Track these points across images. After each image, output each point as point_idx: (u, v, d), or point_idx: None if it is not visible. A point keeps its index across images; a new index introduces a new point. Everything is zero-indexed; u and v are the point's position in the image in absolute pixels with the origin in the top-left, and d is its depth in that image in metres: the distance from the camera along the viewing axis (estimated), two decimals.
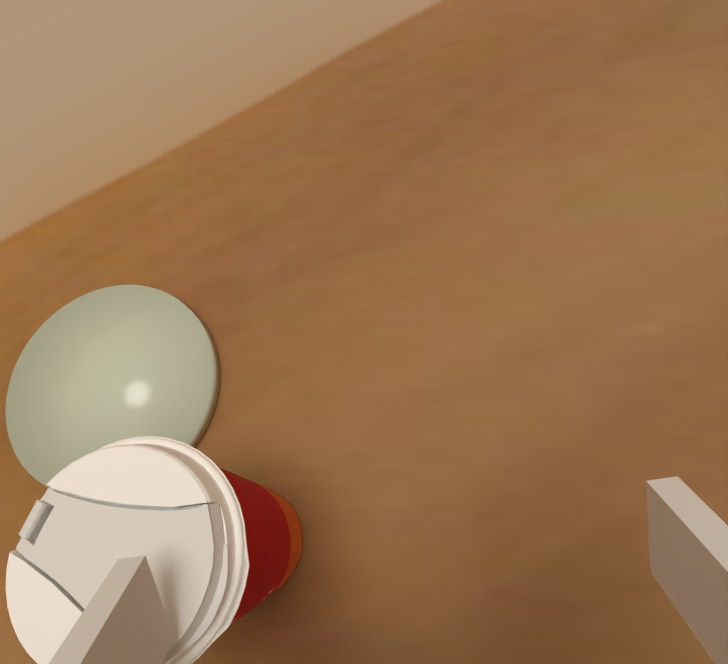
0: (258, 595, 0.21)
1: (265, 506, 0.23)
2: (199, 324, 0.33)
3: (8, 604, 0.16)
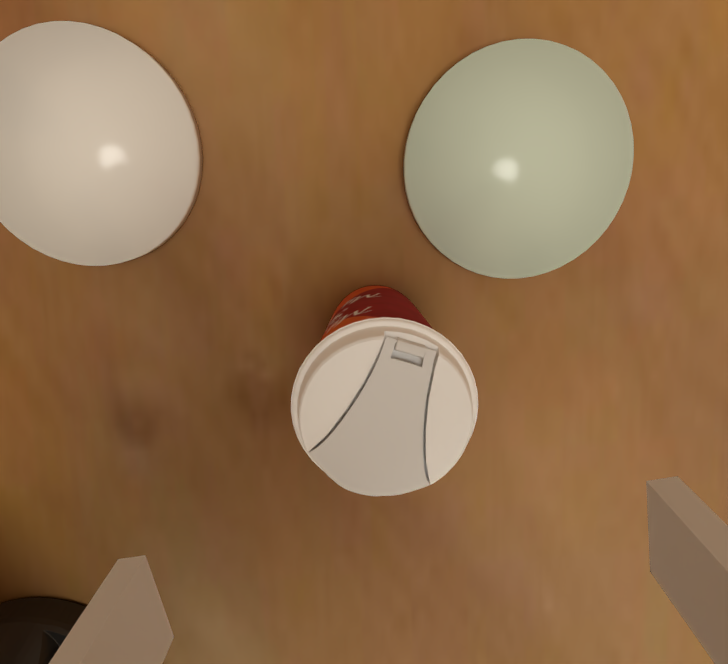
0: None
1: None
2: (578, 254, 0.32)
3: (345, 350, 0.20)
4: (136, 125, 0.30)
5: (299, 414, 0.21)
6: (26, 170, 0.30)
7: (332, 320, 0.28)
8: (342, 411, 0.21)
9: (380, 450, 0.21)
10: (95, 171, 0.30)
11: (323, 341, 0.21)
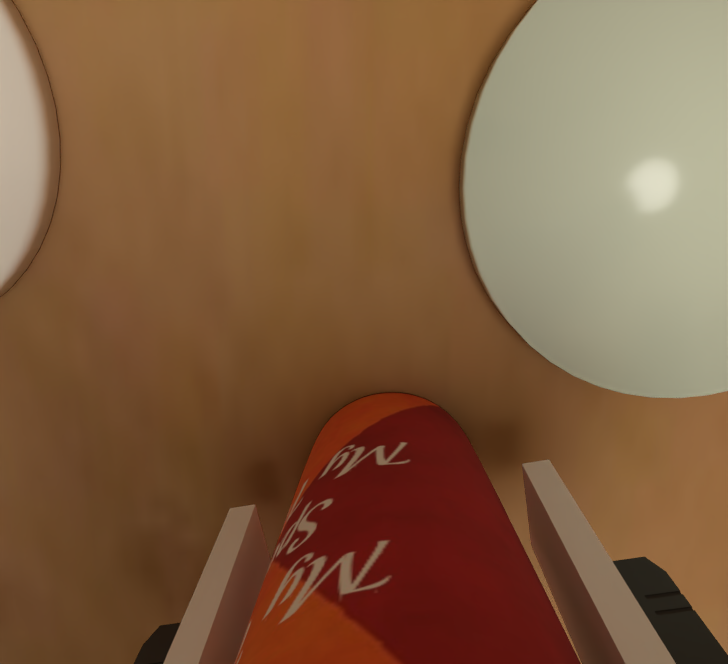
0: None
1: None
2: None
3: None
4: None
5: None
6: None
7: (296, 523, 0.12)
8: None
9: None
10: None
11: None
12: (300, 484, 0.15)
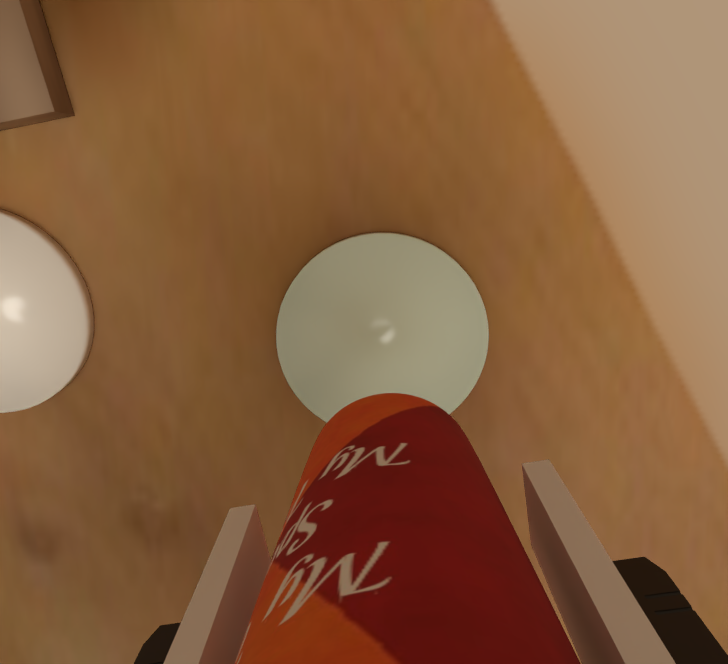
0: None
1: None
2: None
3: None
4: (28, 295, 0.32)
5: None
6: None
7: (296, 524, 0.12)
8: None
9: None
10: None
11: None
12: (300, 485, 0.15)
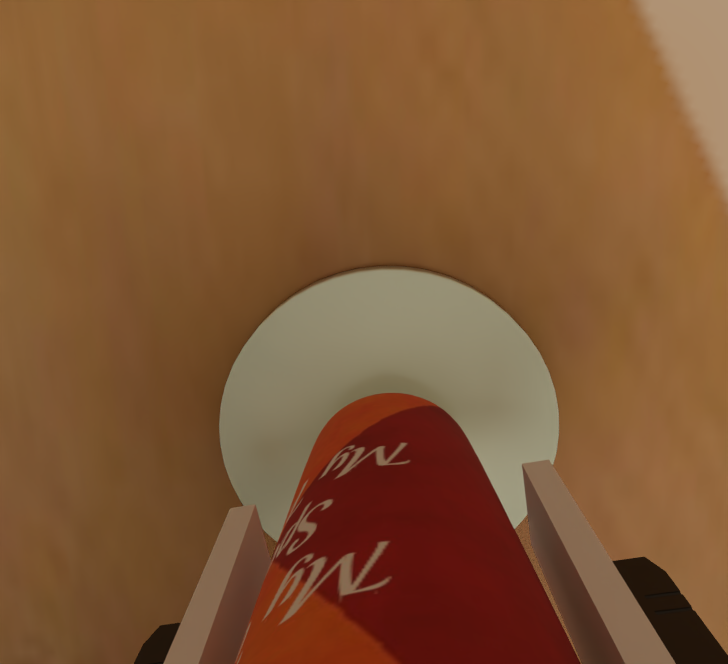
0: None
1: None
2: None
3: None
4: None
5: None
6: None
7: (296, 524, 0.12)
8: None
9: None
10: None
11: None
12: (300, 485, 0.15)
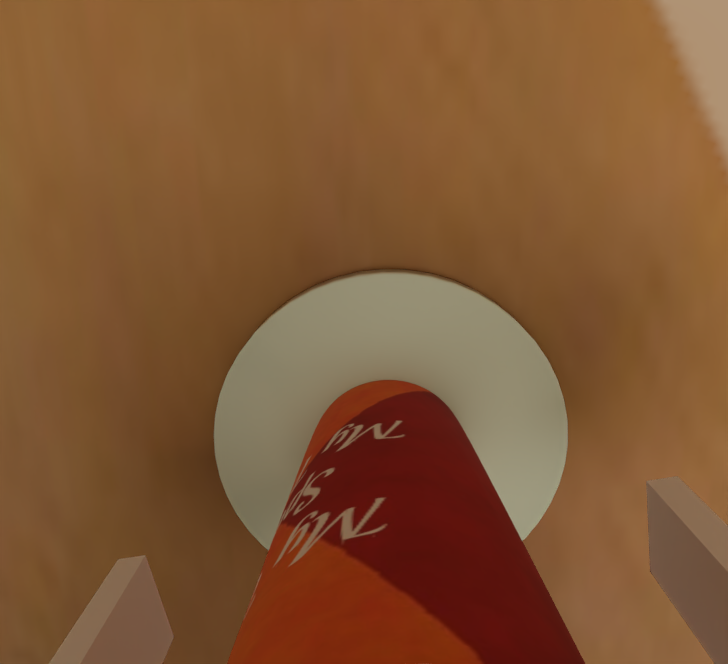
0: None
1: None
2: None
3: None
4: None
5: None
6: None
7: (301, 490, 0.13)
8: None
9: None
10: None
11: None
12: (303, 461, 0.16)
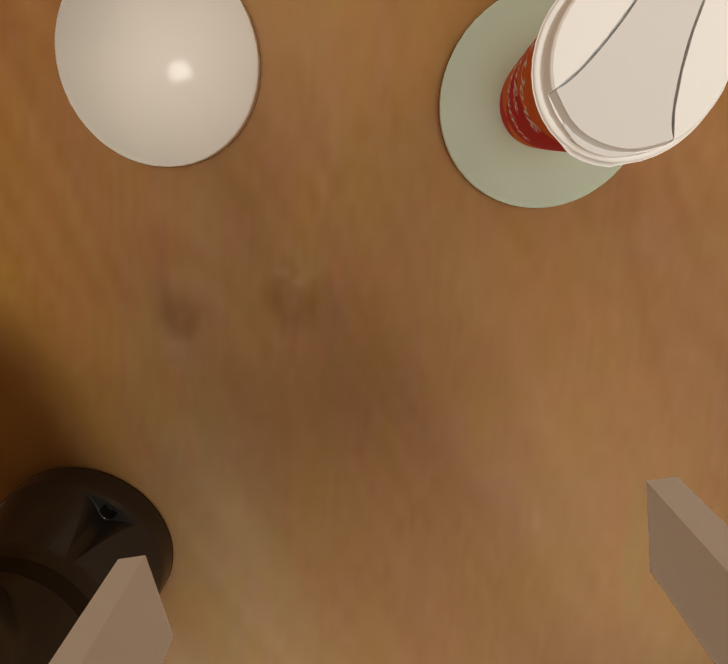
0: (543, 142, 0.27)
1: None
2: (592, 189, 0.35)
3: None
4: (206, 40, 0.34)
5: (553, 44, 0.20)
6: (107, 74, 0.34)
7: None
8: (600, 41, 0.20)
9: (630, 92, 0.21)
10: (166, 79, 0.34)
11: None
12: (518, 61, 0.30)
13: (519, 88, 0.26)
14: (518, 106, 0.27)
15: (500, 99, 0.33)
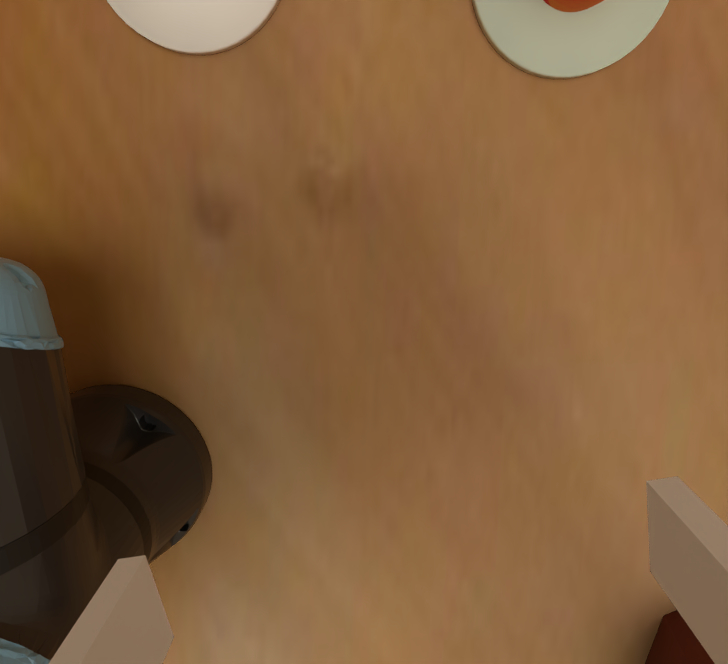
0: None
1: None
2: (625, 54, 0.35)
3: None
4: None
5: None
6: None
7: None
8: None
9: None
10: None
11: None
12: None
13: None
14: None
15: None
